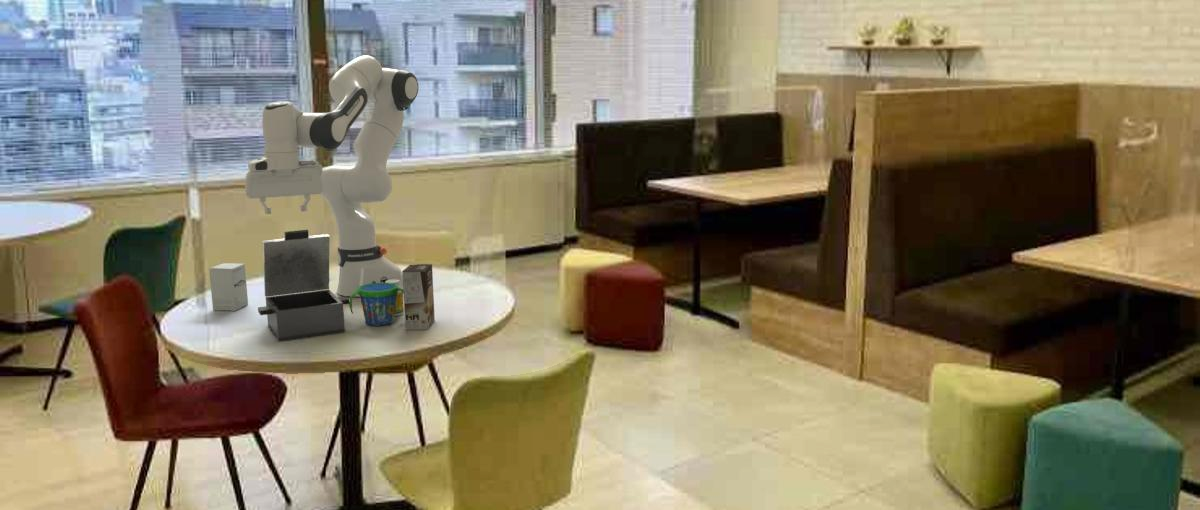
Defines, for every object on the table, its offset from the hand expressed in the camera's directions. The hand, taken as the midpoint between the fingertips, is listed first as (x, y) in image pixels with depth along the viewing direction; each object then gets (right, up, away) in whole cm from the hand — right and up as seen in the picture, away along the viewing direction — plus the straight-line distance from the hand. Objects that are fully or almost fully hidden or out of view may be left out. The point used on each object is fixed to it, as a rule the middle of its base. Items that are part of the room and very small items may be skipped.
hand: (286, 212), depth 269 cm
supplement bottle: (+28, -29, +8) cm, 41 cm away
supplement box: (-22, -27, +18) cm, 39 cm away
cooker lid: (+4, -14, -4) cm, 15 cm away
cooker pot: (+7, -32, -5) cm, 33 cm away
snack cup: (+26, -31, 0) cm, 40 cm away
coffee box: (+37, -31, -3) cm, 49 cm away
